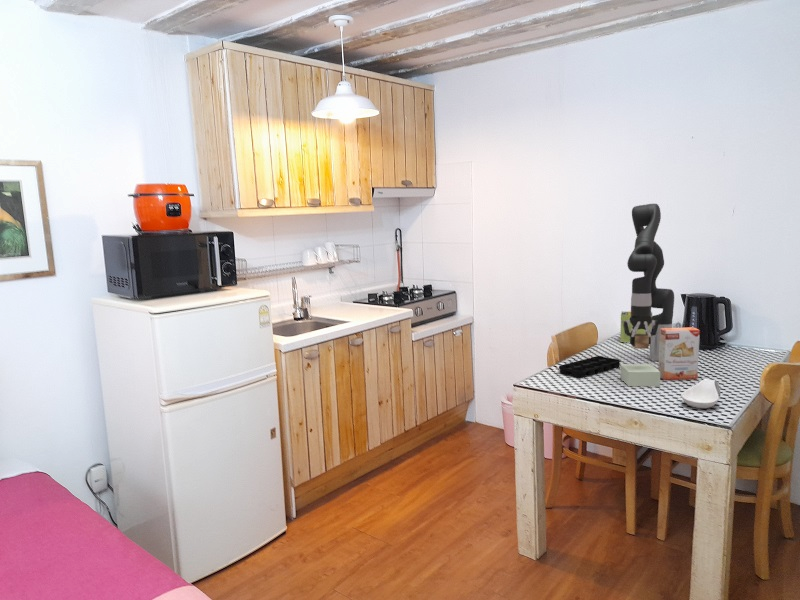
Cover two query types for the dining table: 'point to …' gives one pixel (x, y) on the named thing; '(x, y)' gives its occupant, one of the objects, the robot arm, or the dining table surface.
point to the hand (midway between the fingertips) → (640, 345)
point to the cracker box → (679, 353)
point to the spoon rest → (702, 394)
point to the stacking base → (640, 375)
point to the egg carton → (589, 366)
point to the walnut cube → (641, 341)
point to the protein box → (623, 336)
